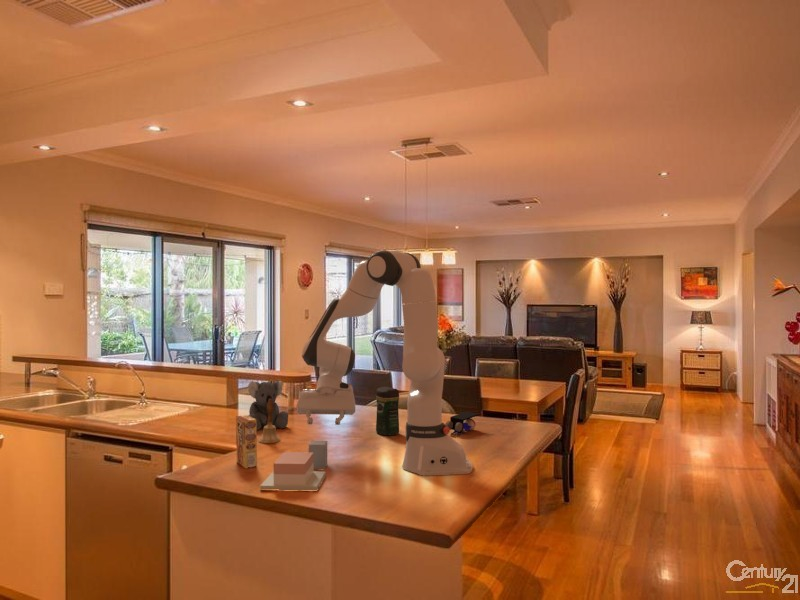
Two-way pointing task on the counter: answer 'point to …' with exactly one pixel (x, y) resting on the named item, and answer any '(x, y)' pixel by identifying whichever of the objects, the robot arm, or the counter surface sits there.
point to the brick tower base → (295, 487)
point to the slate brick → (319, 453)
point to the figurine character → (461, 422)
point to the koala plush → (259, 407)
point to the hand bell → (269, 427)
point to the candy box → (246, 441)
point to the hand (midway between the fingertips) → (323, 423)
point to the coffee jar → (387, 411)
